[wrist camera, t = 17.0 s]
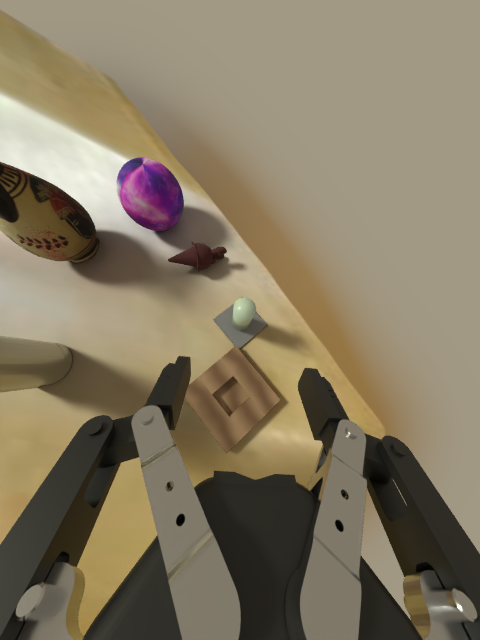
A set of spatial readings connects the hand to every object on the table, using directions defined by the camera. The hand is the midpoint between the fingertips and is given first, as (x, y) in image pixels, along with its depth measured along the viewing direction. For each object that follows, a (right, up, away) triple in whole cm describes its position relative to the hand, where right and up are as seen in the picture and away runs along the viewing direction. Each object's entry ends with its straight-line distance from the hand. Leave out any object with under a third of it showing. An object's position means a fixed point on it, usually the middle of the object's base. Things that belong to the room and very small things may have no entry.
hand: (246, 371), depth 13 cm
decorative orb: (-23, +33, +40) cm, 57 cm away
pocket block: (-3, -14, +30) cm, 33 cm away
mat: (0, +3, +34) cm, 35 cm away
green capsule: (0, +3, +34) cm, 34 cm away
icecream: (-12, +19, +38) cm, 44 cm away
